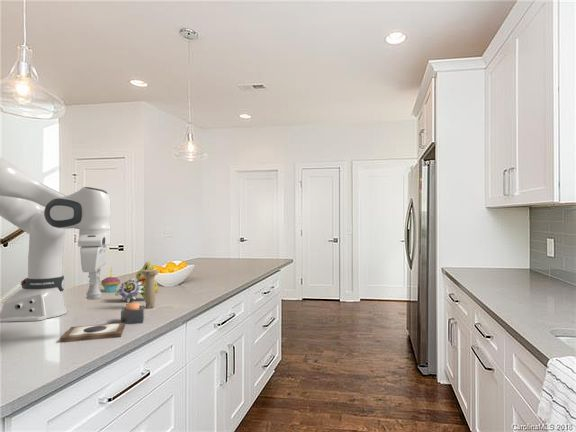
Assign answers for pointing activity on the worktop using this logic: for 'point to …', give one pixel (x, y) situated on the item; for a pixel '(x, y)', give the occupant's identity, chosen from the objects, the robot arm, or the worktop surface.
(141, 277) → the yellow green figurine
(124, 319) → the button housing
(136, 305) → the button
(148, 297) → the handle
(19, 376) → the worktop surface
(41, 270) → the robot arm
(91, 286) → the rook chess piece
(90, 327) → the board
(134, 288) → the passion flower
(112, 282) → the cupcake
